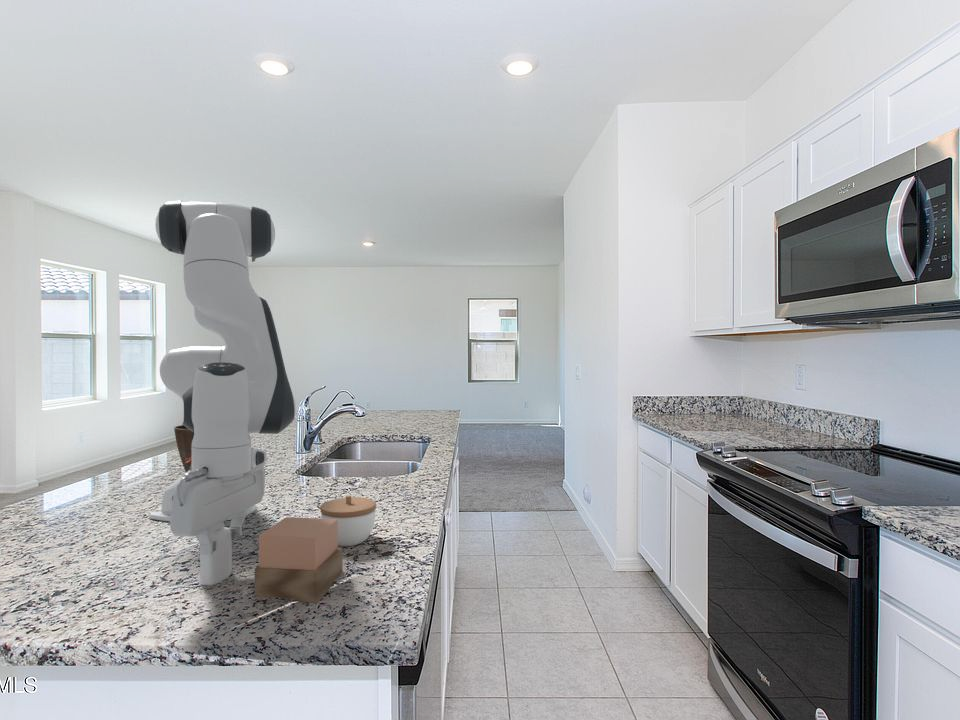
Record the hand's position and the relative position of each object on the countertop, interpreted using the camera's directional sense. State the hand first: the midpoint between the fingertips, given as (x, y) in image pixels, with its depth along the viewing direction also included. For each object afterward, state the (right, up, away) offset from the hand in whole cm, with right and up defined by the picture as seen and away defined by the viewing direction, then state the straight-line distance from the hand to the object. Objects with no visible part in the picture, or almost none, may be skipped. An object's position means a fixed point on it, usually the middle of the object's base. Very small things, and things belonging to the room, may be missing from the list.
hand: (221, 545), depth 88 cm
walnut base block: (+14, -6, -2) cm, 15 cm away
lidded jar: (+16, -6, +18) cm, 25 cm away
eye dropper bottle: (-1, -6, 0) cm, 6 cm away
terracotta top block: (+14, -1, -2) cm, 14 cm away
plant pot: (-40, -5, +71) cm, 81 cm away
